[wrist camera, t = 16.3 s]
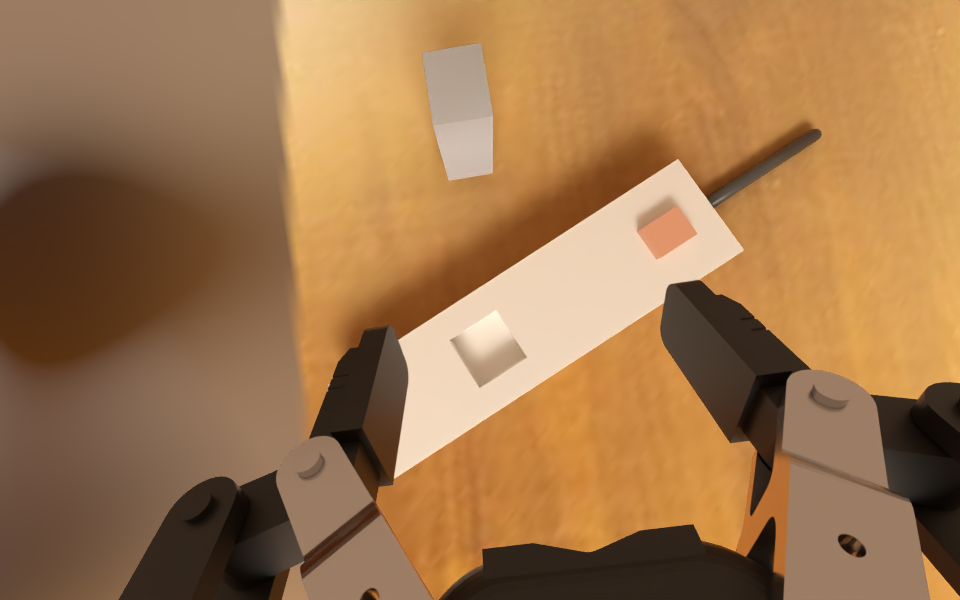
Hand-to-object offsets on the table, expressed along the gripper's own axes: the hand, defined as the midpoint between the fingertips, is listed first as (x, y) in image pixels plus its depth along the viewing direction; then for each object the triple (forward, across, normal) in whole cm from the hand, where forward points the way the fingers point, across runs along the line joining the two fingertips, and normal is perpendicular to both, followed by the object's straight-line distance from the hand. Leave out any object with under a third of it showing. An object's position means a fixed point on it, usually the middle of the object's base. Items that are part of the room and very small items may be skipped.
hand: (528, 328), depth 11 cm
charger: (+24, +2, +1) cm, 24 cm away
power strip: (+17, -7, +10) cm, 21 cm away
